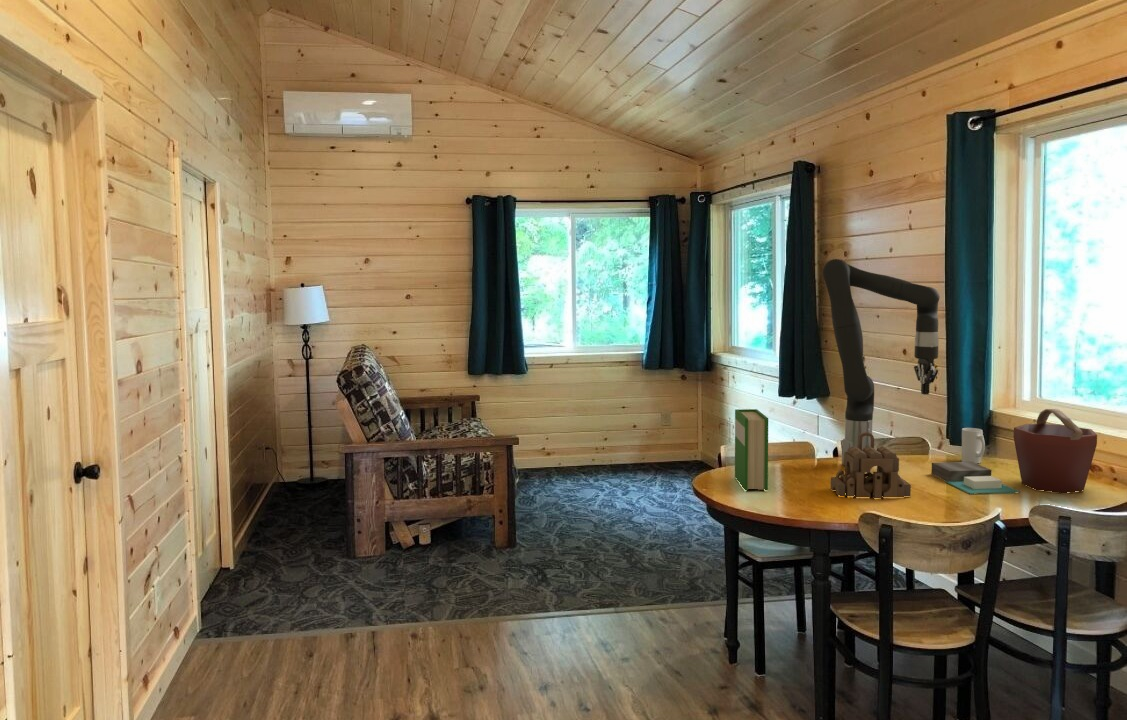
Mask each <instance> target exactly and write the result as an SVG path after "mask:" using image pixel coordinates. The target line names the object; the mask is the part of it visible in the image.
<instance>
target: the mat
mask: <svg viewBox="0 0 1127 720" xmlns="http://www.w3.org/2000/svg"><path fill="white" fill-rule="evenodd" d="M945 482H946V484H947V483H948V484H947V485H949V484H951V485H950V486H952V485H953V486H952V487H954V486H955V487H954V488H956V487H957V488H956V489H958V488H959V489H958V490H960V489H961V490H960V491H962V490H963V491H962V492H964V491H965V492H964V493H966V492H968V493H970V494H971V495H975V494H974V493H1004V494H1016V493H1015V492H1020V493H1021V491H1019V490H1017V489H1015V488H1013V487H1012V486H1008V485H1006V484H1004V483H1002V488H993V489H973V488H971V487H968V486H966V485H964V481H951V482H950V481H944V483H945ZM968 493H967V494H968ZM970 494H969V495H970Z"/></svg>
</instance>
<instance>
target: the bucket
mask: <svg viewBox="0 0 1127 720" xmlns="http://www.w3.org/2000/svg"><path fill="white" fill-rule="evenodd" d="M1051 414H1053V415H1054V416H1055V417H1056V418H1057V419H1058V420H1059V421H1060V422H1061V423H1062V424H1058V423H1057V424H1055V423H1053V424H1051V423H1047V420H1048V419H1049V416H1050V415H1051ZM1013 442H1014V447H1015V452H1016V458H1017V459H1016V460H1017V463H1018V470H1019V475H1020V480H1021V485H1022V484H1024V485H1023V486H1025V485H1027V486H1029V487H1031V488H1034V489H1036V490H1044V491H1052V492H1059V493H1067V492H1075V491H1082V490H1084V491H1085V488H1086V484H1087V480H1088V477H1089V473H1090V470H1091V466H1092V464H1093V463H1092V462H1093V458H1094V456H1095V453H1096V449H1097V445H1098V435H1097V433H1096V432H1095V431H1094V430H1093V429H1091V428H1086V427H1079V426H1078V425H1077V424H1076V423H1074V422H1073V420H1072V419H1071V418H1070V417H1068V416H1067V415H1066V414H1065V413H1064V412H1063V411H1061V410H1060V409H1056V408H1045V409H1044V410H1042V411H1040V412H1039V414H1038V415H1037V419H1036V423H1025V424H1022V425H1019V426H1015V427H1013ZM1027 486H1026V487H1027ZM1029 487H1028V488H1029ZM1031 488H1030V489H1031ZM1034 489H1033V490H1034ZM1036 490H1035V491H1036ZM1044 491H1043V492H1044ZM1059 493H1058V494H1059Z"/></svg>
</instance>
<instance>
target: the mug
mask: <svg viewBox="0 0 1127 720" xmlns="http://www.w3.org/2000/svg"><path fill="white" fill-rule="evenodd" d="M983 434H984V432H983V429H981V428H975V427H964V428H961V462H974V463H976V464H977V463H979V464H980V463H982V458H983V456H984V453H985V448H986V443H985V438H984V435H983Z"/></svg>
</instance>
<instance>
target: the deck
mask: <svg viewBox="0 0 1127 720" xmlns="http://www.w3.org/2000/svg"><path fill="white" fill-rule="evenodd" d="M930 475H932V476H934V477H936V478H939V479H940V478H941V480H942V479H943V481H944V480H945V481H950V482H951V481H964V477H972V476H992V469H990V468H987V467H986V466H982V465H980V464H976V463H974V462H962V461H950V462H949V461H943V462H931V474H930ZM945 481H944V482H945Z"/></svg>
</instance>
